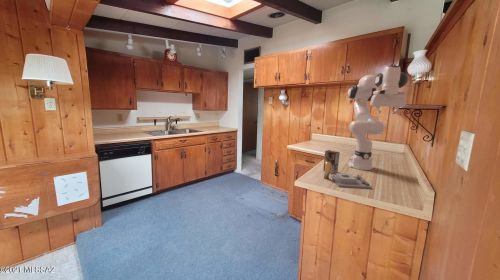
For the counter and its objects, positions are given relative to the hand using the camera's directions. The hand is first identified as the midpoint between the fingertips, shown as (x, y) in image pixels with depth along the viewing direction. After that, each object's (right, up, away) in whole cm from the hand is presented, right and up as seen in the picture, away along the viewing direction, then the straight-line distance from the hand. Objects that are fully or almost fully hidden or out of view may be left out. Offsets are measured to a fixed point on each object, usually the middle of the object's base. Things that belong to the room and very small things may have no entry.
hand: (386, 113), depth 135 cm
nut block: (-21, -46, +5) cm, 51 cm away
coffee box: (-26, -42, +26) cm, 56 cm away
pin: (-35, -44, +11) cm, 57 cm away
